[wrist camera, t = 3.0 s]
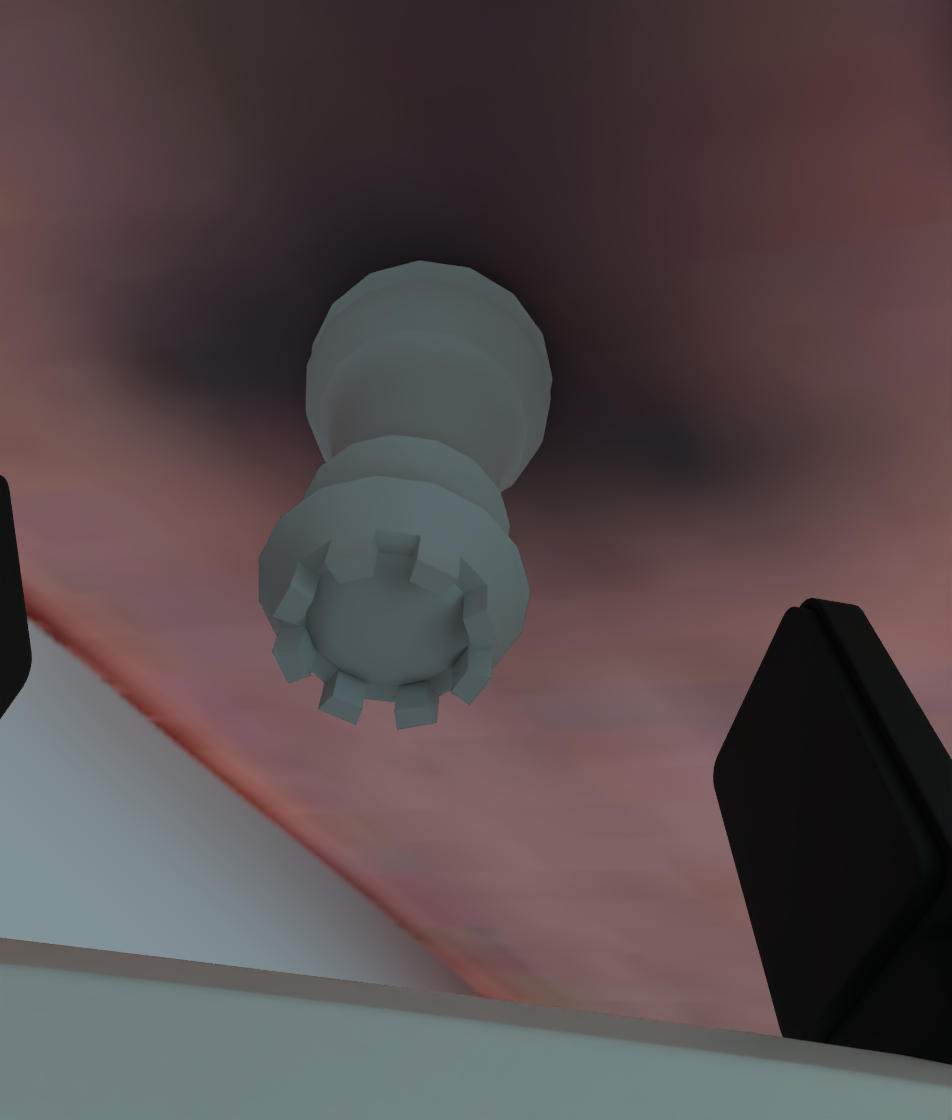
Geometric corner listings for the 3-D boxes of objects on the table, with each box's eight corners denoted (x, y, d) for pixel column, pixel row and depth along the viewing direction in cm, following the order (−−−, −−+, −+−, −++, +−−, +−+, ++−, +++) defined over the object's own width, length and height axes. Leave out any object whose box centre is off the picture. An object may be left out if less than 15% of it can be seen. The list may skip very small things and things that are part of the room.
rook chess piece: (333, 483, 17) (231, 789, 11) (294, 260, 15) (130, 479, 8) (552, 474, 17) (584, 780, 11) (549, 245, 15) (588, 458, 8)
